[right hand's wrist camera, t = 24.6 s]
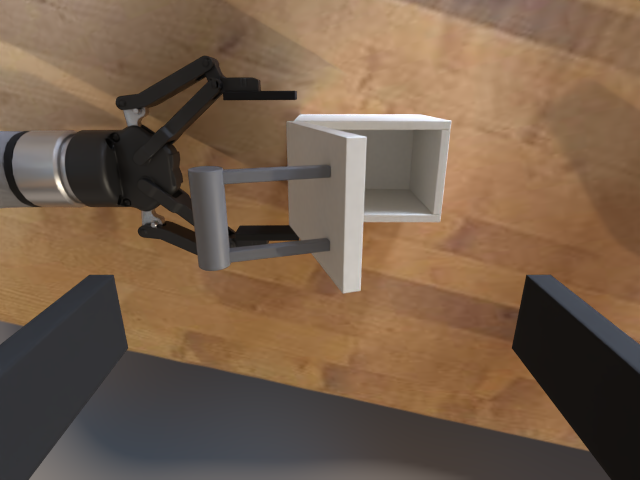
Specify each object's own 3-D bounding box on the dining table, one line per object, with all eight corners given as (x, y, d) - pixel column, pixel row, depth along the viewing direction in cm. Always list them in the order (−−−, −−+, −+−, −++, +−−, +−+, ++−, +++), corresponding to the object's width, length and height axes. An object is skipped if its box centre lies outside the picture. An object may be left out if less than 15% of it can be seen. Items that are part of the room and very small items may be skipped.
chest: (420, 114, 44) (451, 120, 34) (413, 193, 47) (440, 222, 37) (299, 114, 44) (293, 120, 34) (301, 193, 47) (295, 222, 37)
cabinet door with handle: (367, 136, 21) (183, 142, 18) (360, 291, 24) (203, 314, 21) (299, 120, 33) (185, 123, 31) (301, 223, 36) (197, 233, 34)
